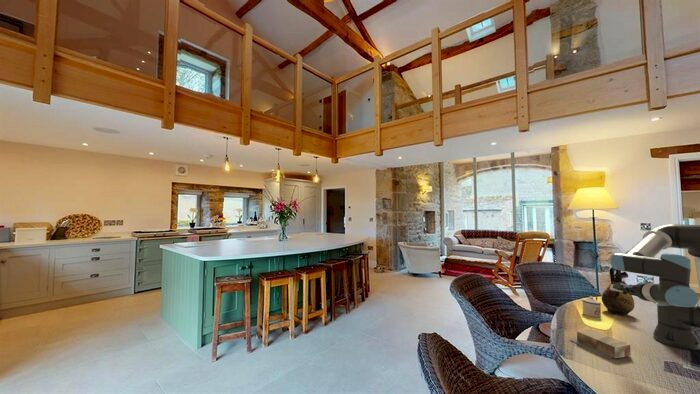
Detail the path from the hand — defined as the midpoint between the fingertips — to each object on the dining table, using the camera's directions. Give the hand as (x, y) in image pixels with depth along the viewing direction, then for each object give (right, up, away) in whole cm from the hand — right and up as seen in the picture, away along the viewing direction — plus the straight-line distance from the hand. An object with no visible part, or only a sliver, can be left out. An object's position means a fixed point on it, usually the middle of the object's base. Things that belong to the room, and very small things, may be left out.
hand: (612, 287), depth 133 cm
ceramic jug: (+45, -32, +43) cm, 70 cm away
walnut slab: (-7, -26, -12) cm, 29 cm away
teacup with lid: (+26, -31, +39) cm, 57 cm away
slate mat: (-9, -29, -3) cm, 30 cm away
